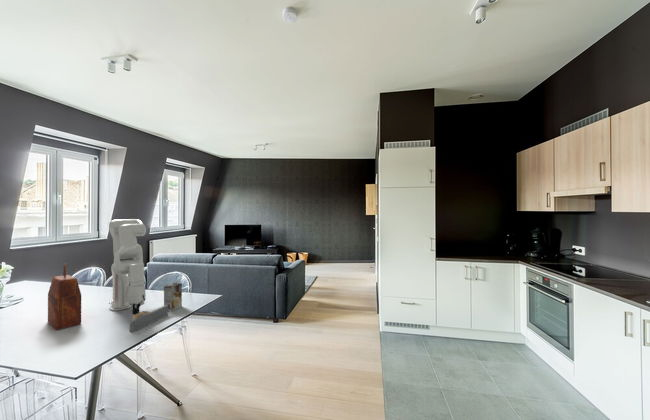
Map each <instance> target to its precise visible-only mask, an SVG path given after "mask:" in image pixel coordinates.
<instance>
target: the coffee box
mask: <svg viewBox="0 0 650 420" xmlns="http://www.w3.org/2000/svg"><path fill="white" fill-rule="evenodd" d="M182 286H183V284H182V283H181V282H180V283H179V282H174V283H170V284H166V285H164V286H163V306H164V305H168V312H173V311H174V310H177V309H179V308H181V307H182V306H183V301H182V300H183V299H182V298H183V297H182V296H183V294H182V293H183V292H182V289H183V287H182Z"/></svg>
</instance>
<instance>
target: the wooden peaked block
mask: <svg viewBox="0 0 650 420" xmlns="http://www.w3.org/2000/svg"><path fill="white" fill-rule="evenodd" d="M66 269H67V267H66V263H63V273H62V274H63V275H57V276H56V275H55V276H53V277H52V279H51V282H50V286H49V290H48V292H47V323H48V324H49V325H50V326H51V327H52V328H53V329H54V330H55V331H59V330H62V329H65V328H70V327H72V326H73V327H74V326H77V325H81V324H82V293H81V289H80V285H79V283H78V278H76V277H74V276H71V275H69V274H67V270H66Z"/></svg>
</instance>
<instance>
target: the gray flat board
mask: <svg viewBox="0 0 650 420" xmlns="http://www.w3.org/2000/svg"><path fill="white" fill-rule="evenodd" d="M148 312H149V313H147V314H144V315H142V316H140V317H138V318H135V319H133V318H132V319H131V320H130V321H129V328H130V329H129V332H130V333H134V332H136V331H139V330H140V329H142V328H145V327H146V326H148V325H150V324H152V323H154V322H157V321H158V320H160V319H162V318H164V317H166V316H168V315H169V311H168V305H164V304H163V305H162V306H161V307H158V308H155V309H153V310H151V311H148Z"/></svg>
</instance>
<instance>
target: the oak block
mask: <svg viewBox="0 0 650 420" xmlns="http://www.w3.org/2000/svg"><path fill="white" fill-rule="evenodd" d="M149 312H150V311H147V310H143V311H139V313H138V314H135V315H132V320H133V319H135V318H138V317H140V316H142V315H144V314H147V313H149Z"/></svg>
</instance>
